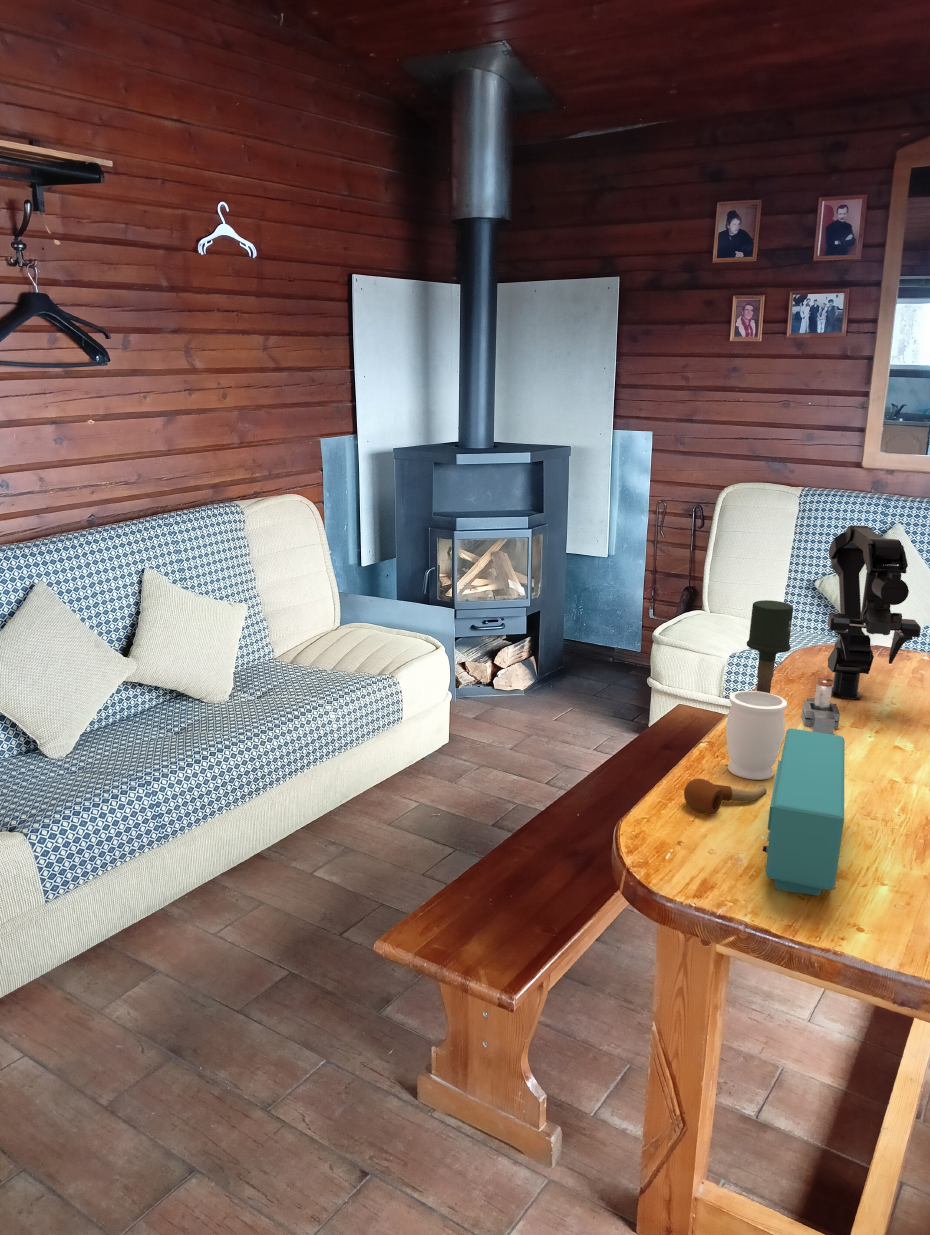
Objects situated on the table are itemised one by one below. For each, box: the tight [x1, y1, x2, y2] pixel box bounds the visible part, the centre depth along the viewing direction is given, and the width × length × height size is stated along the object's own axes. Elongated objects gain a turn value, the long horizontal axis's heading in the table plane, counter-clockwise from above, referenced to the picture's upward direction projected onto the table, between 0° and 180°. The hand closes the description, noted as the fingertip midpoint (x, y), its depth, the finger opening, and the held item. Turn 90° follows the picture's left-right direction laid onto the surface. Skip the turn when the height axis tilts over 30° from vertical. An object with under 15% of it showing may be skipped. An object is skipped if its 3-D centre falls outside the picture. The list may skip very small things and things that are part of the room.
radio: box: [762, 728, 846, 896], centre depth 150 cm, size 34×10×15 cm, turn 158°
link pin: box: [814, 677, 834, 711], centre depth 209 cm, size 3×3×10 cm
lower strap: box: [801, 697, 840, 731], centre depth 214 cm, size 16×7×2 cm, turn 165°
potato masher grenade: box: [746, 599, 794, 694], centre depth 193 cm, size 8×9×30 cm
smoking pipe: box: [683, 778, 768, 816], centre depth 169 cm, size 7×18×6 cm, turn 125°
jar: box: [725, 690, 788, 781], centre depth 180 cm, size 11×10×15 cm
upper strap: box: [802, 700, 841, 735], centre depth 208 cm, size 11×7×4 cm, turn 165°
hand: (868, 661), depth 213 cm, fingers open, 9 cm apart
